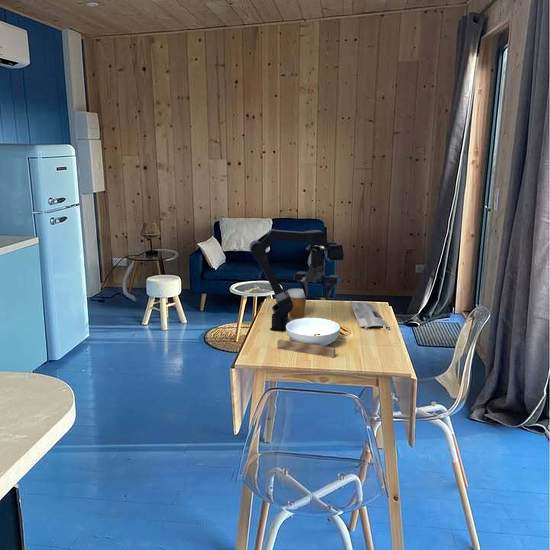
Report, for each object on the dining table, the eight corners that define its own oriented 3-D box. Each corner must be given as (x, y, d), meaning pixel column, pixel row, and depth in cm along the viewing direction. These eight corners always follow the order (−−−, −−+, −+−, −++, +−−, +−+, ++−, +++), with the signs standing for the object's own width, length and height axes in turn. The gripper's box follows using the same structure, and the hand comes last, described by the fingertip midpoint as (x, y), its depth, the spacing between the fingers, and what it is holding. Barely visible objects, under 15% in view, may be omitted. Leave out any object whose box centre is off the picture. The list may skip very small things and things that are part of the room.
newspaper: (390, 331, 218) (390, 323, 217) (360, 331, 217) (360, 323, 216) (371, 307, 252) (372, 300, 251) (346, 307, 252) (346, 300, 251)
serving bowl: (277, 337, 208) (277, 320, 206) (324, 331, 215) (324, 315, 214) (299, 355, 189) (299, 337, 187) (349, 348, 197) (350, 331, 195)
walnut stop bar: (277, 348, 196) (277, 340, 195) (279, 346, 197) (279, 339, 197) (333, 357, 187) (333, 349, 186) (335, 355, 189) (335, 348, 188)
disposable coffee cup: (310, 315, 236) (311, 290, 233) (300, 321, 228) (301, 294, 225) (292, 312, 241) (293, 287, 238) (282, 317, 233) (282, 291, 230)
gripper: (289, 262, 210) (288, 300, 213) (333, 267, 202) (332, 305, 206) (299, 258, 220) (298, 293, 223) (341, 261, 212) (340, 298, 216)
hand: (316, 298), depth 217 cm, fingers open, 9 cm apart
